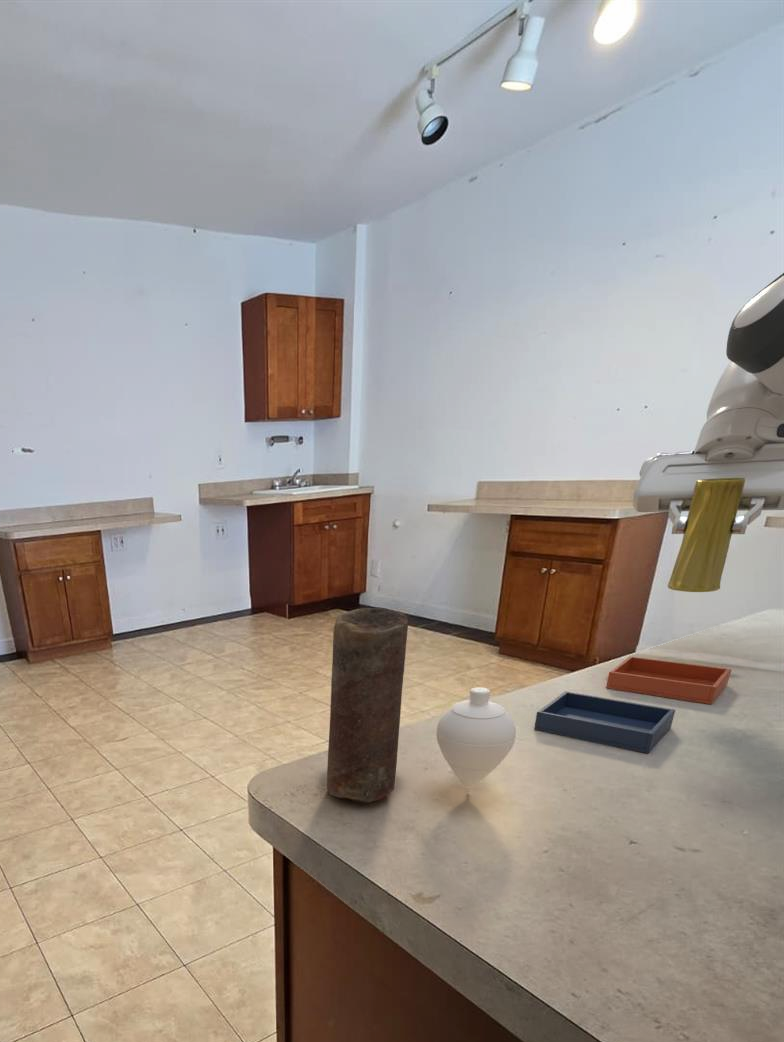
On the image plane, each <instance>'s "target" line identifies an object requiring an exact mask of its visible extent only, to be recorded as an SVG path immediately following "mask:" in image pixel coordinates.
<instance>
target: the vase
mask: <svg viewBox="0 0 784 1042" xmlns="http://www.w3.org/2000/svg"><path fill="white" fill-rule="evenodd" d="M744 484H745V478H717V479H702V480H697V481H696V484H695V487H694V492H693V496H692V500H691V505H690V509H689V511H688V514H687V516H686V517H687V522H686V527H685V530H684V534H683V537H682V541H681V544H680V547H679V551H678V553H677V556H676V559H675V563H674V565H673V569H672V572H671V575H670V577H669V580H668V583H667V588H668V589H670V590H672V591H678V592H685V593H686V592H688V593H708V592H716V591H718V590H720V589H721V581H722V577H723V576H722V575H723V573H724V568H725V566H726V565H725V564H726V560H727V557H728V552H729V548H730V544H731V539H732V535H733V534H731V532H732V528H733V524H734V521H735V518H736V516H737V514H738V511H737V510H738V506H739V502H740V498H741V495H742V491H743V488H744Z"/></svg>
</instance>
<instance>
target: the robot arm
mask: <svg viewBox="0 0 784 1042" xmlns="http://www.w3.org/2000/svg"><path fill="white" fill-rule="evenodd" d="M725 351H726V352H725V353H726V357H727V359H728V360H729V363H728V365H727V366H726V367H725V368H724V370H723V372H722V374H721V375H720V377H719V379H718V380H717V383H716V385H715V386H714V390H713V392H712V395H711V397H710V400H709V403H708V407H707V410H706V422H705V423H704V424H703V425H702V428H701V430H700V431H699V436H698V438H697V442H696V445H695V448H694V450H691V451H678V452H670V453H668V452H661V453H657V454H656V456H651V457H649V458H648V459H647V458H646V459H645V460H644V462H643V463H642V464H641V468H640V470H639V477H640V478H639V480H638V481H637V484H636V485H635V489H634V491H633V497H632V507H633V508H634V509H635V511H636V512H638V513H663V512H664V513H666V512H667V513H668V518H669V520H670V522H671V523H672V528H671V535H684V530H685V527H686V522H687V517H688V516H682V512H689V509H690V505H691V500H692V496H693V492H694V487H695V484H696V481H697V480H702V479H717V478H745V484H744V488H743V491H742V495H741V498H740V502H739V506H738V510H737V512H738V511H739V512H740V511H741V512H742V511H746V513H745V514H744V515H736V518H735V521H734V524H733V528H732V532H731V534H732V535H745V534H746V531H747V526H749V525H750V524H751V523H753V522H754V521H756V520H757V518H759V517H760V516H761V515H762V511H784V272H782V273H781V275H779V276H777V277H776V278H775V279H774V280H772V281H771V282H770V283H769V284H767V285H766V286H765V287H763V288H762V289H761V290H760V291H758V292H757V293H756V294H755V295H754V296H753V297H752V298H750V300H748V301H747V302H746V303H745V304H744V305H743V306H742V307H741V309H740V310H739V311H738V312H737V313H736V315H735V316H734V318H733V319H732V322H731V325H730V328H729V331H728V336H727V342H726V350H725Z"/></svg>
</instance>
